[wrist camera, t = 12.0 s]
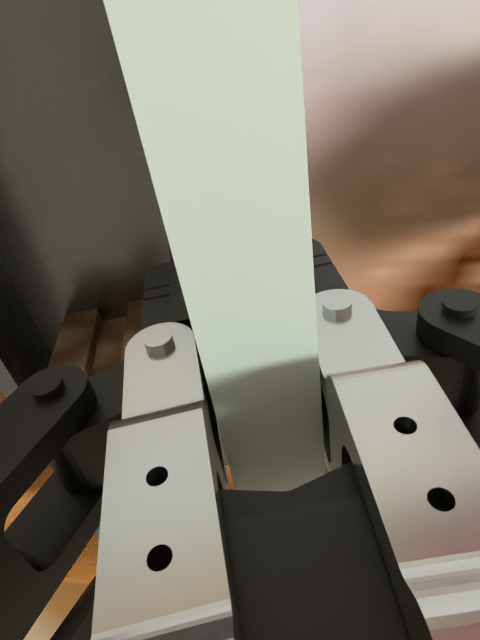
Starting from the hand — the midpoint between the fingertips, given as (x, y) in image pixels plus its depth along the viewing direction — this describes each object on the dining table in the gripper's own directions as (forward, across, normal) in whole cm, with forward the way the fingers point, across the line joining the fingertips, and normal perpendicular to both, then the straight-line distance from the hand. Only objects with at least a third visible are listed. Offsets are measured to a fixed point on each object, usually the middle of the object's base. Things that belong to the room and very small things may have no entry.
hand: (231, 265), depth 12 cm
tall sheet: (+12, 0, 0) cm, 12 cm away
